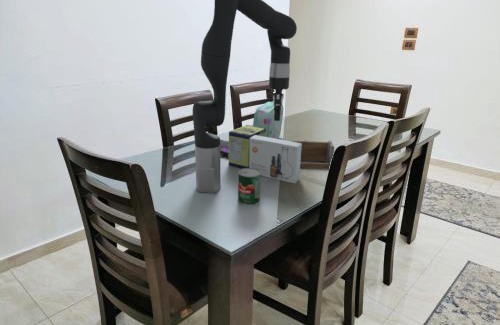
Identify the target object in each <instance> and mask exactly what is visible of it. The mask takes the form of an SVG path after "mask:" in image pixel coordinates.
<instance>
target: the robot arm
mask: <svg viewBox="0 0 500 325" xmlns="http://www.w3.org/2000/svg"><path fill="white" fill-rule="evenodd" d="M213 9H214V10H213V19H212V22H211V26H210V27H209V29H208V30H207V33H206V34H205V36H204V38H203V41H202V44H201V55H200V67H201V69H202V71H203V73H204V75H205V77H206V78H207V80H208V82H209V83H210V85H211V88H212V91H213V99H212V100H203V101H199V100H198V101H195V102H194V103H193V106H192V122H193V124H192V125H193V136H194V151H195V152H194V156H195V161H194V162H195V185H196V186H195V188H196V190H197V192H198V193H208V194H209V193H210V194H211V193H212V194H215V193H216V192H217V191H219V190H220V189H221V183H222V182H221V156H220V140H221V138H220V136H218V135H216V134H214V133H209V132H207V131H206V128H213V127H215V128H216V127H219V126H222V125H223V123H224V121H225V117H226V99H227V98H226V96H227V84H228V83H227V82H228V76H229V75H228V74H229V67H230V60H231V48H232V43H233V42H232V41H233V34H234V26H235V21H236V15H237V11H239V12H240V13H241V14H242V15H244V16H245V17H246V18H248V19H249V20H251V21H252V22H253V23H255V24H256V25H258V26H260V27H261V28H262V29H265V30H266V31H267V38H268V43H269V48H270V64H269V74H268V75H269V79H268V80H269V81H268V88H269V89H271V90H275V92H273V94H272V99H273V100H272V101H273V105H274V120H275V121H280V112H281V106H282V105H283V104H284V103H283V101H284V92H283V90H284V91H285V90H288V89H289V88H290V77H291V76H290V75H291V74H290V72H291V66H290V61H291V49H290V47H289V46H286V45H285V44H283V40H290V39H293V38H294V37H295V35H296V34H297V28H298V26H297V24H296V22H295V20H294V19H293V18H292V17H290V16H289V15H287V14H284V13H282V12H280V11H277V10H276V9H275V8H274V7H272V6H271V5H269V4H268V3H266V2H265V1H264V0H214V7H213Z"/></svg>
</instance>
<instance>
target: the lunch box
mask: <svg viewBox="0 0 500 325" xmlns="http://www.w3.org/2000/svg"><path fill="white" fill-rule="evenodd" d="M283 117H284V105H283V104H282V106H281V112H280V121H275V120H274V105H273V100H272V101H267V102H265V103H264V104H262V105H259V106H257V107H256V109H255V111H254V115H253V121H252V126H256V127H262V128H266V137H269V138H274V139H280V137H281V132H282V124H283Z"/></svg>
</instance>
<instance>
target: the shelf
mask: <svg viewBox="0 0 500 325" xmlns="http://www.w3.org/2000/svg"><path fill="white" fill-rule="evenodd" d="M286 141H291V142H297V143H302V147H301V162H300V168H303V169H304V168H306V169H328V170H329V166H330V162H331V159H332V156H333V153H334V154H335V146H334V144H333V142H332V141H331V140H328V141H317V140H316V141H315V140H314V141H313V140H309V141H308V140H290V139H289V140H288V139H287V140H286ZM333 157H334V156H333ZM304 161H319V162H304ZM320 161H321V162H320Z"/></svg>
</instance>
